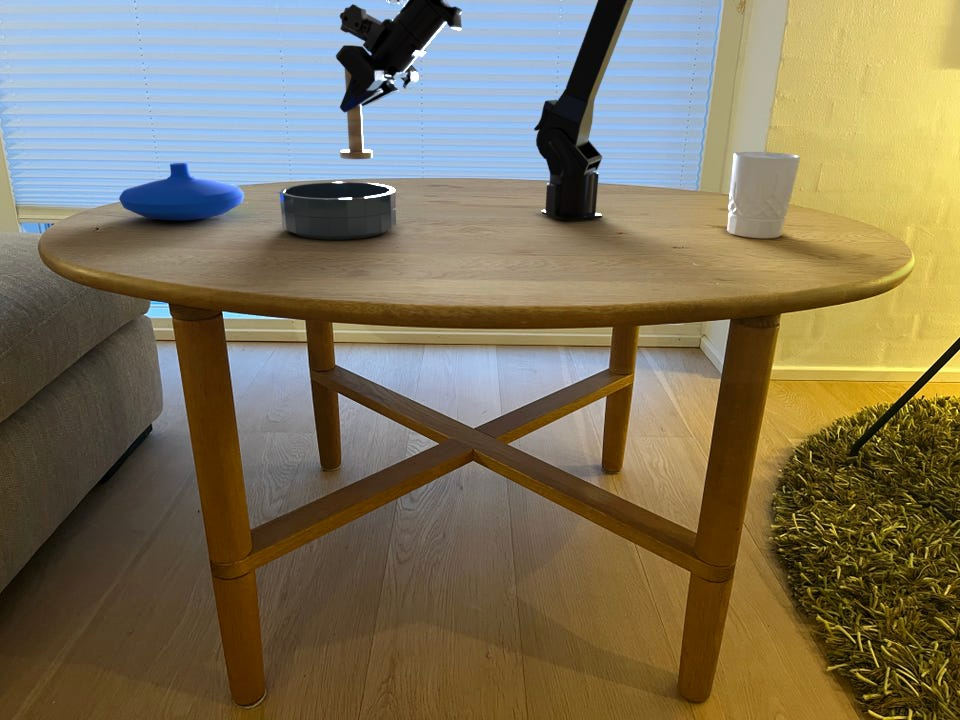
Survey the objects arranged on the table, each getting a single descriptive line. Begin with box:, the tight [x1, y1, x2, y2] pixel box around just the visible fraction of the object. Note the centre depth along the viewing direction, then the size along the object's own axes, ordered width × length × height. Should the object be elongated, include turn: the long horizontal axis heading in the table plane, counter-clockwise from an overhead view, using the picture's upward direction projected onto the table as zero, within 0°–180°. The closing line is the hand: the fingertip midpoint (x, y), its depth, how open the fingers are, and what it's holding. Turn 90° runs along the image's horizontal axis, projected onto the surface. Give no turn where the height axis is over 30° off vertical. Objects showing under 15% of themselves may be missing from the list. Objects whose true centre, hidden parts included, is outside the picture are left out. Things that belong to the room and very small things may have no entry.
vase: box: [118, 162, 245, 222], centre depth 94 cm, size 16×16×7 cm
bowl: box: [279, 181, 397, 241], centre depth 89 cm, size 14×14×5 cm
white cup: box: [726, 151, 801, 240], centre depth 90 cm, size 8×8×10 cm
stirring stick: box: [339, 68, 374, 160], centre depth 106 cm, size 5×5×14 cm
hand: (345, 109), depth 106 cm, fingers closed on stirring stick, 2 cm apart
